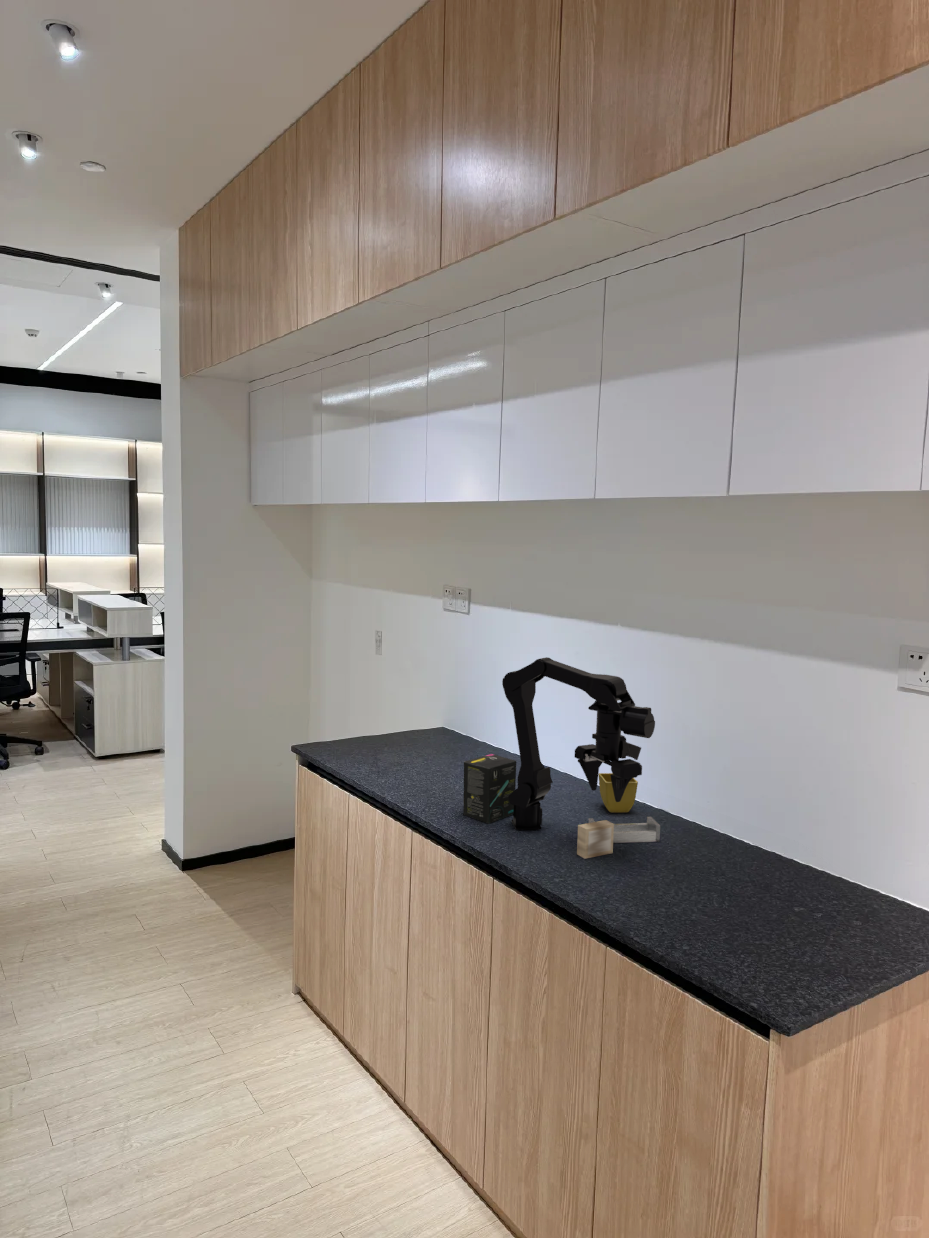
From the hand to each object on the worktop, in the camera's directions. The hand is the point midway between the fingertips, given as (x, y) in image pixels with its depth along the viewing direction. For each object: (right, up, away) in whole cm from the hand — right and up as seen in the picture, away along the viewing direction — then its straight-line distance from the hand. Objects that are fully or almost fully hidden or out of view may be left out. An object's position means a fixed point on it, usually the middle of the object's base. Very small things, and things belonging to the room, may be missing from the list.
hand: (605, 795), depth 195 cm
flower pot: (+8, -10, +28) cm, 31 cm away
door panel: (-3, -13, -3) cm, 13 cm away
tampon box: (-27, -10, +22) cm, 36 cm away
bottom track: (+6, -12, +8) cm, 15 cm away
